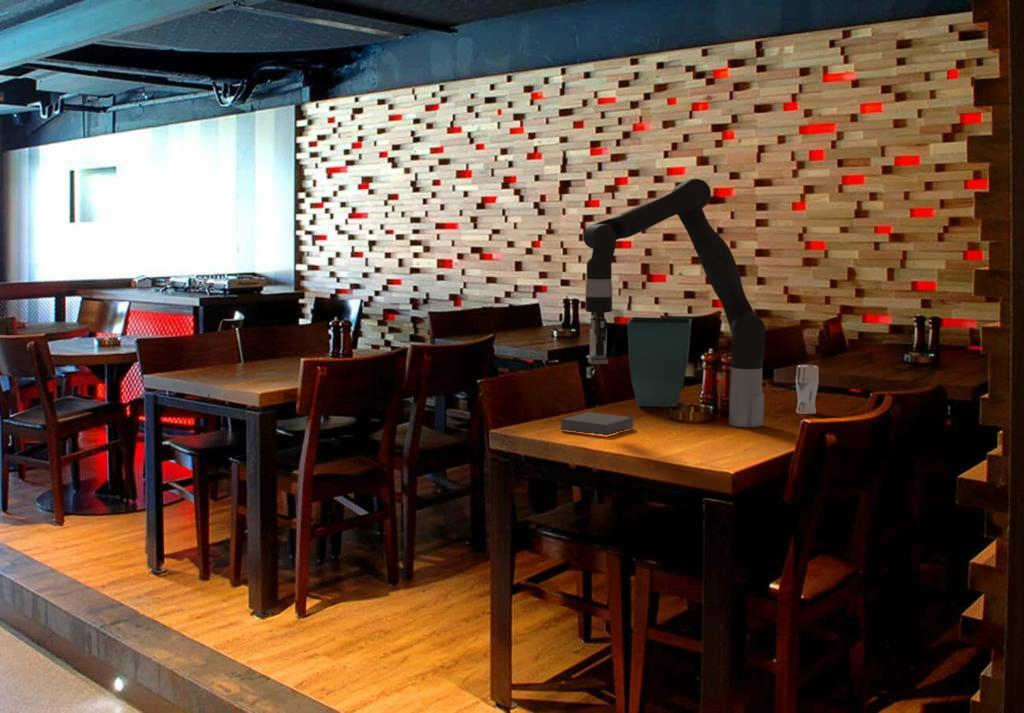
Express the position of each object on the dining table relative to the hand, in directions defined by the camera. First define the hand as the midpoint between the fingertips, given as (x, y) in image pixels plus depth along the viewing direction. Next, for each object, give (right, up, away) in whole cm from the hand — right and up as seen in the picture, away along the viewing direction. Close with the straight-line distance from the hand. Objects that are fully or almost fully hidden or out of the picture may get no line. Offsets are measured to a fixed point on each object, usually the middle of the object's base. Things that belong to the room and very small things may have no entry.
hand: (598, 354), depth 291 cm
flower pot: (+24, -17, +48) cm, 56 cm away
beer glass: (+69, -19, +33) cm, 78 cm away
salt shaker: (0, -2, 0) cm, 2 cm away
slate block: (0, -22, +3) cm, 22 cm away
